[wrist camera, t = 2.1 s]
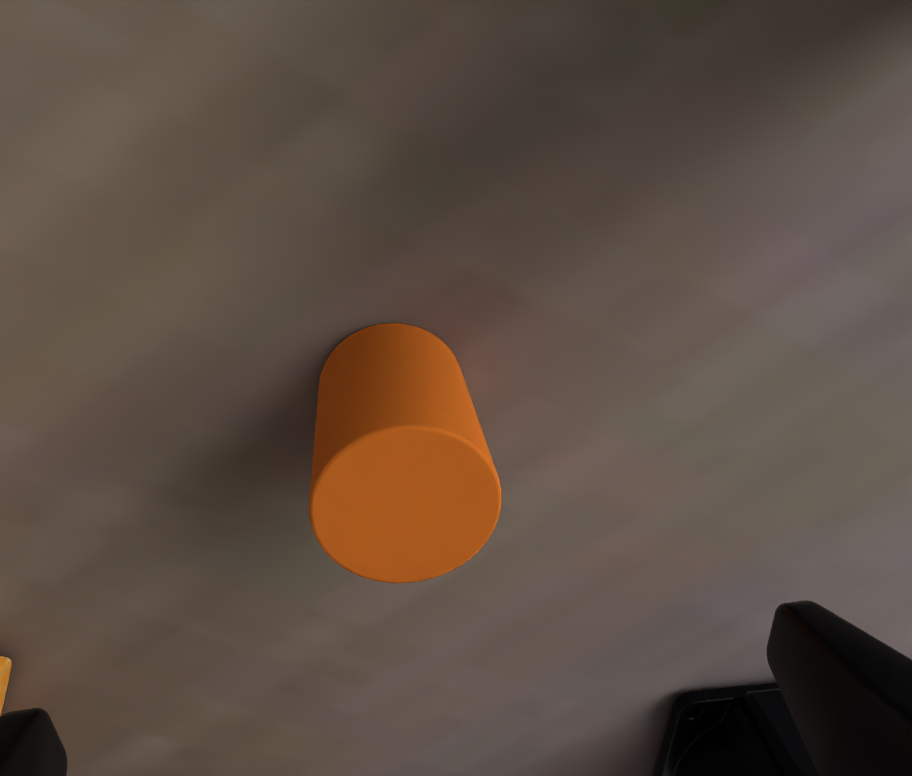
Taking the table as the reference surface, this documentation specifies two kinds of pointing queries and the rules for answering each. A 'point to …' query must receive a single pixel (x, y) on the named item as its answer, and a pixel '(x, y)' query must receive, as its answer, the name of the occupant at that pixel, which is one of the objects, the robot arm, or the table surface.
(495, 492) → the cylinder
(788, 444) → the table surface
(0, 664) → the supplement box
